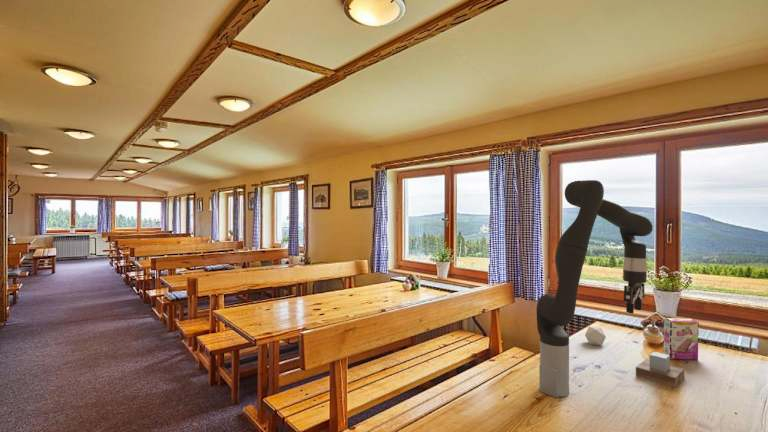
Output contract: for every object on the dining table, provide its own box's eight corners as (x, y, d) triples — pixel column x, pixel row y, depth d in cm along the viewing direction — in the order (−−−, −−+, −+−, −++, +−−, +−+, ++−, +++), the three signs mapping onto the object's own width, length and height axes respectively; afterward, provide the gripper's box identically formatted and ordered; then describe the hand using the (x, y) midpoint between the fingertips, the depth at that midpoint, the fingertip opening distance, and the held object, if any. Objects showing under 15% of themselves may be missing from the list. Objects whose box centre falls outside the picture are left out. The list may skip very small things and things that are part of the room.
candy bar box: (670, 359, 154) (670, 320, 154) (662, 355, 159) (662, 317, 159) (699, 360, 153) (699, 321, 153) (690, 356, 158) (690, 318, 158)
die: (599, 350, 167) (611, 332, 168) (581, 337, 172) (592, 320, 172) (597, 350, 174) (609, 334, 175) (580, 338, 179) (591, 322, 179)
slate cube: (665, 372, 134) (665, 358, 134) (649, 367, 138) (649, 354, 138) (669, 368, 137) (669, 355, 137) (653, 364, 141) (653, 351, 141)
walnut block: (675, 389, 130) (675, 378, 129) (635, 377, 139) (635, 367, 139) (684, 379, 137) (684, 368, 137) (646, 368, 146) (646, 358, 146)
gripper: (639, 272, 134) (638, 316, 134) (652, 269, 143) (651, 310, 143) (616, 269, 140) (615, 312, 140) (630, 266, 149) (629, 306, 149)
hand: (634, 311), depth 141 cm, fingers open, 8 cm apart
